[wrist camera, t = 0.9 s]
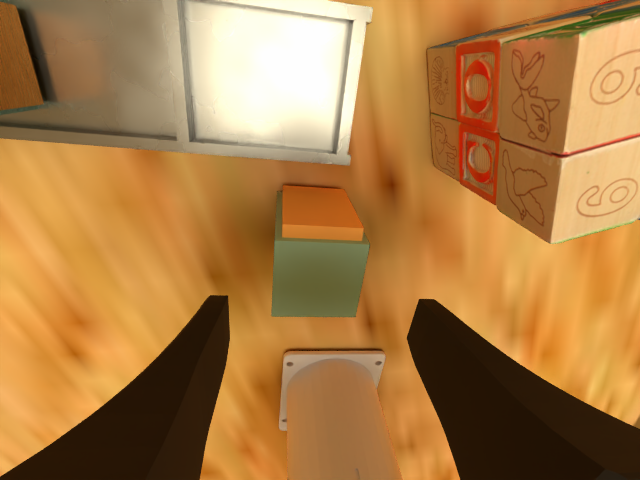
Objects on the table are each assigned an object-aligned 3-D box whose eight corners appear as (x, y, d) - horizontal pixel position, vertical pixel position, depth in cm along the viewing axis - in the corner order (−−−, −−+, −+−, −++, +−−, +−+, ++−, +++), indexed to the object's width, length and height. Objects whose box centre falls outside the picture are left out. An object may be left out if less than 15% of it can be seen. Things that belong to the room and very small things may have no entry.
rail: (343, 155, 17) (377, 204, 11) (-56, 122, 15) (-312, 162, 8) (362, 15, 14) (424, -29, 8) (-133, -58, 12) (-623, -210, 5)
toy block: (274, 251, 20) (271, 316, 15) (277, 180, 18) (275, 227, 12) (336, 253, 20) (355, 317, 15) (346, 185, 18) (372, 231, 13)
